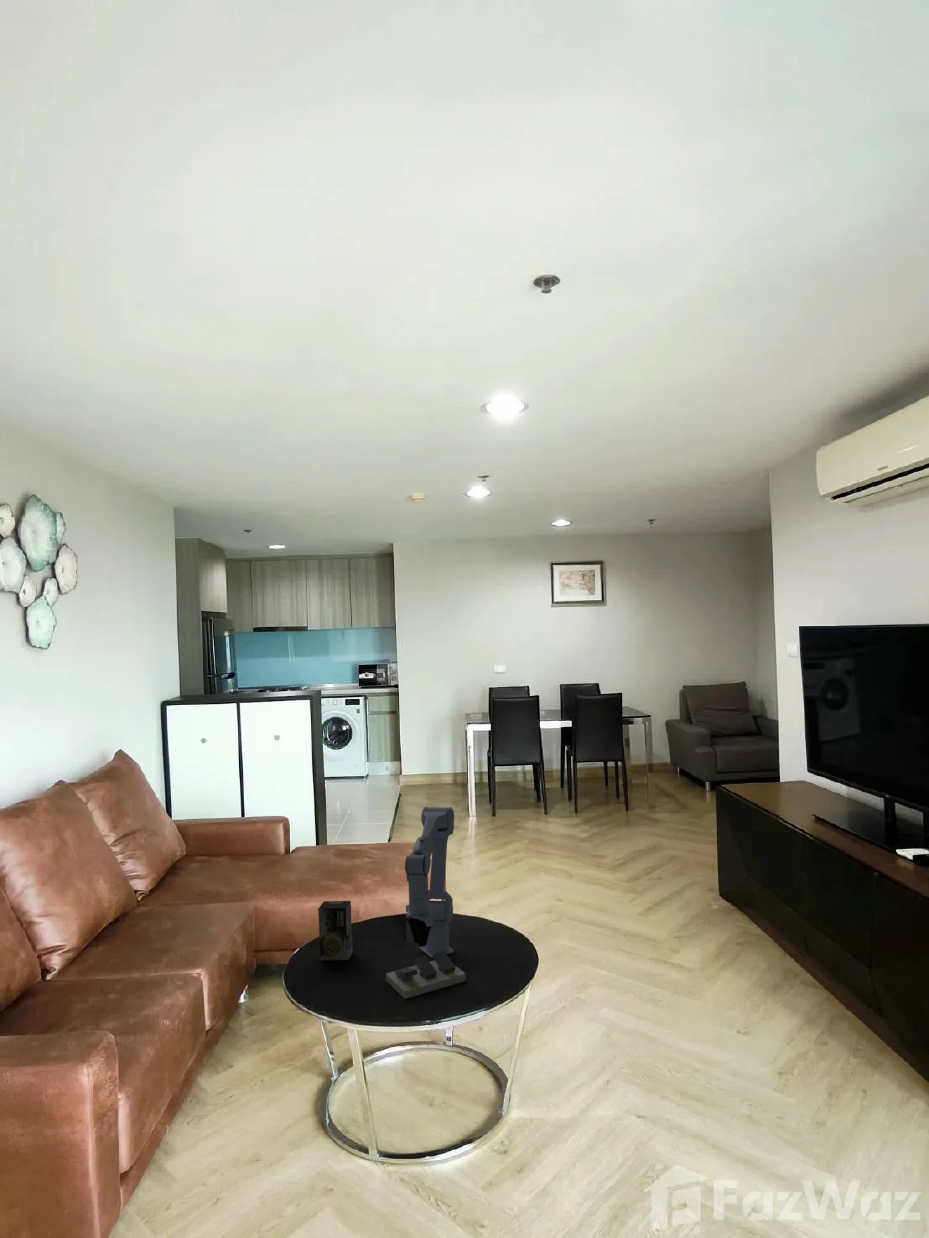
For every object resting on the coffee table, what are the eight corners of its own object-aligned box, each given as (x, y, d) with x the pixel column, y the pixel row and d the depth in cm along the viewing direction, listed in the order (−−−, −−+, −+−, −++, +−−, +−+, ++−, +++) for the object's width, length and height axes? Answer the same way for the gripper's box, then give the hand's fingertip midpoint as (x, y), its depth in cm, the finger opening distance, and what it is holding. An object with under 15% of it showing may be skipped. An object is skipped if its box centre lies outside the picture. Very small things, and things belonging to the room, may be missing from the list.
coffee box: (353, 951, 224) (351, 900, 225) (347, 960, 218) (346, 907, 219) (325, 951, 225) (323, 900, 226) (319, 960, 219) (317, 907, 220)
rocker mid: (414, 962, 205) (414, 958, 205) (425, 959, 207) (425, 955, 206) (425, 978, 199) (425, 975, 198) (436, 975, 200) (436, 971, 200)
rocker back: (432, 957, 208) (433, 953, 208) (443, 954, 210) (443, 951, 209) (444, 973, 201) (444, 969, 201) (455, 970, 203) (455, 966, 203)
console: (386, 980, 203) (385, 970, 204) (444, 964, 213) (444, 954, 213) (404, 998, 192) (404, 987, 192) (465, 980, 201) (465, 970, 201)
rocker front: (395, 974, 202) (395, 970, 202) (406, 971, 203) (406, 967, 204) (405, 977, 196) (405, 972, 196) (417, 974, 197) (416, 969, 198)
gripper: (396, 892, 210) (397, 938, 210) (416, 906, 198) (418, 955, 197) (417, 887, 214) (419, 933, 213) (439, 901, 201) (441, 949, 200)
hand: (420, 943), depth 205 cm, fingers open, 3 cm apart
